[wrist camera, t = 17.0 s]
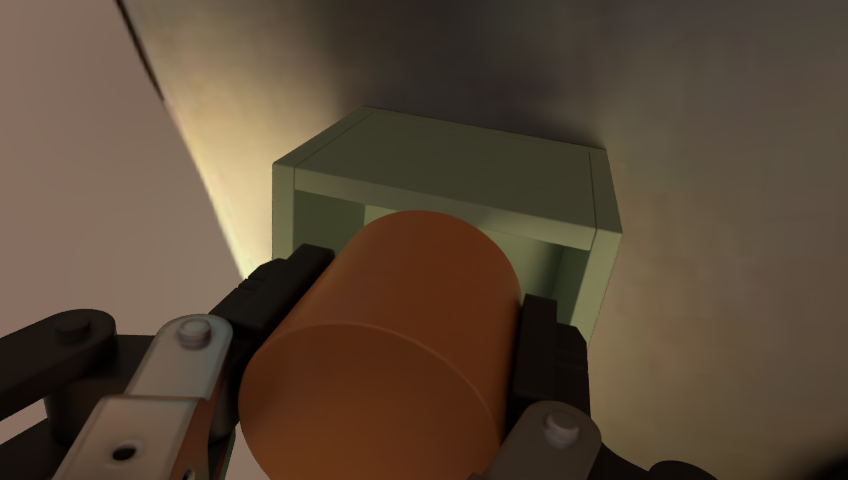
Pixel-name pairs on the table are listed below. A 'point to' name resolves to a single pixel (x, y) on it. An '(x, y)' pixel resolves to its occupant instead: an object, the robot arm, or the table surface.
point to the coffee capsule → (390, 359)
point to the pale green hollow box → (460, 198)
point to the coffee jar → (838, 475)
